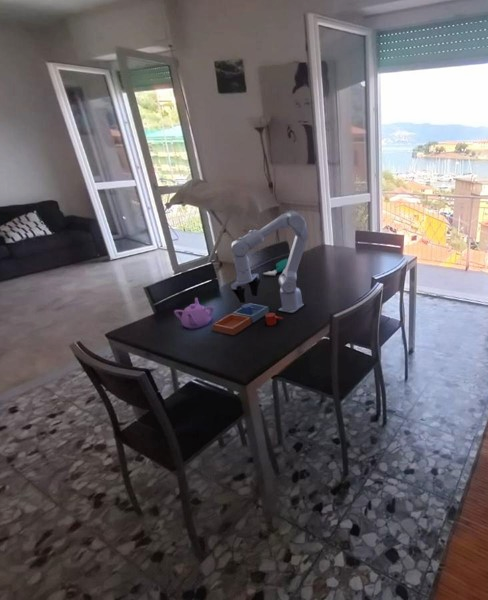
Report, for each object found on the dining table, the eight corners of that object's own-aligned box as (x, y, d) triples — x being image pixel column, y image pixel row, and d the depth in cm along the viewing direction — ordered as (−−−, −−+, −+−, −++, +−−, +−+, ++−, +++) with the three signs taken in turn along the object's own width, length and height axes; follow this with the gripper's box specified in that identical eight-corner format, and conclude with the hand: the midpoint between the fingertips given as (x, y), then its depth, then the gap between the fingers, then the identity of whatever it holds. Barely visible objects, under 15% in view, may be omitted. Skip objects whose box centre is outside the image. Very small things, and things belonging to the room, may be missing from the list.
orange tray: (232, 319, 154) (231, 313, 153) (251, 323, 151) (250, 317, 149) (213, 330, 145) (211, 324, 144) (233, 335, 142) (232, 328, 140)
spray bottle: (300, 264, 223) (277, 277, 202) (285, 262, 226) (261, 276, 205) (299, 259, 221) (276, 273, 200) (284, 258, 225) (260, 271, 204)
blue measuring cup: (241, 315, 157) (239, 306, 155) (247, 311, 160) (245, 303, 159) (256, 317, 154) (254, 309, 153) (262, 314, 158) (260, 305, 156)
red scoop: (264, 324, 150) (263, 316, 148) (270, 320, 153) (269, 312, 151) (280, 327, 147) (279, 319, 145) (286, 323, 150) (285, 315, 149)
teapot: (193, 333, 143) (187, 313, 140) (174, 324, 150) (169, 305, 147) (219, 321, 153) (215, 303, 149) (200, 314, 159) (196, 296, 156)
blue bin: (250, 308, 164) (249, 303, 163) (269, 312, 160) (268, 306, 159) (233, 318, 155) (232, 312, 154) (253, 322, 151) (252, 316, 150)
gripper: (247, 263, 156) (253, 291, 161) (222, 273, 143) (229, 304, 149) (260, 264, 153) (265, 293, 159) (236, 275, 141) (242, 306, 147)
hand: (248, 298), depth 154 cm, fingers open, 7 cm apart
